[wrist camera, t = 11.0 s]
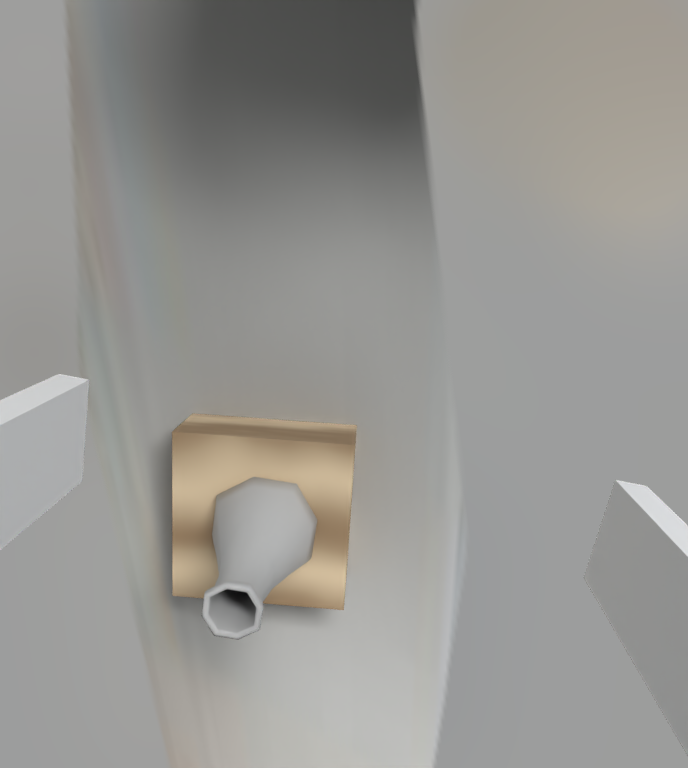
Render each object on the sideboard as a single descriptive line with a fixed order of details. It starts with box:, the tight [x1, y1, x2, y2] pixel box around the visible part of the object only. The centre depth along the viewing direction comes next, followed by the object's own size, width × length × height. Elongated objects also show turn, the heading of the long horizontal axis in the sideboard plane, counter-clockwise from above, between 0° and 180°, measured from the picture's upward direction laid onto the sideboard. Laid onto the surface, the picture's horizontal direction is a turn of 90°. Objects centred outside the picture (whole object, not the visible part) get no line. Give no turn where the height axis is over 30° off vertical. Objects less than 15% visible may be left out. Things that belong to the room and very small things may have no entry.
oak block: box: [172, 414, 357, 610], centre depth 42 cm, size 12×12×5 cm
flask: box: [202, 477, 317, 640], centre depth 35 cm, size 7×7×10 cm
